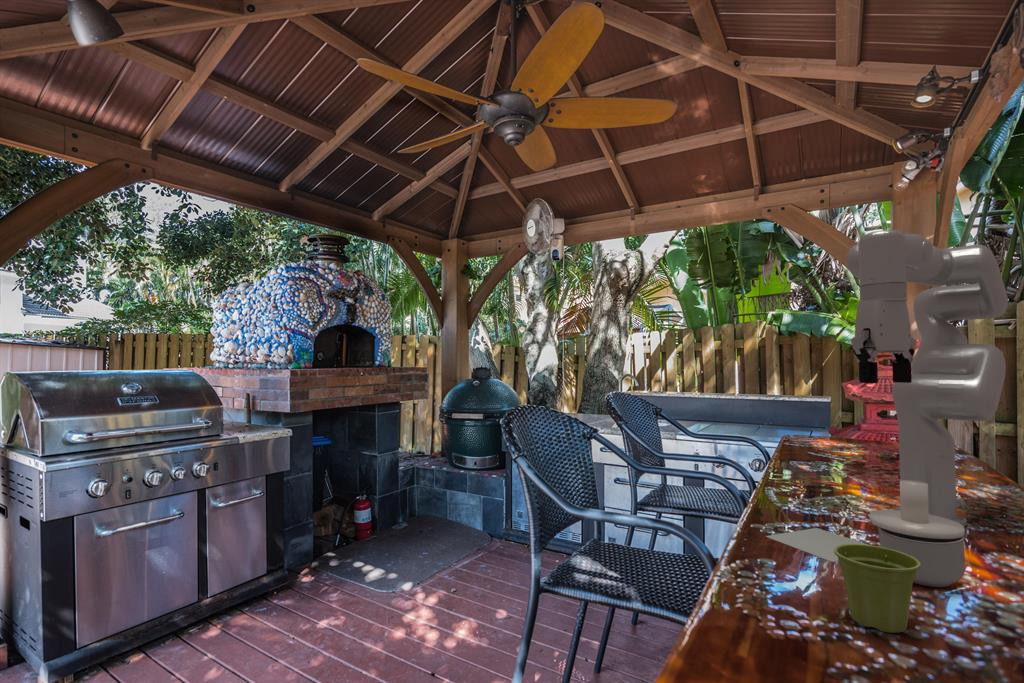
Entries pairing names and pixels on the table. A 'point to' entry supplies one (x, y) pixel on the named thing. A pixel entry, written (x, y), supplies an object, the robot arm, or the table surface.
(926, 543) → the teacup
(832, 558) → the mat
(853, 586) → the plant pot
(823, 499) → the table surface
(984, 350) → the robot arm
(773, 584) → the table surface
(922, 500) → the lid
